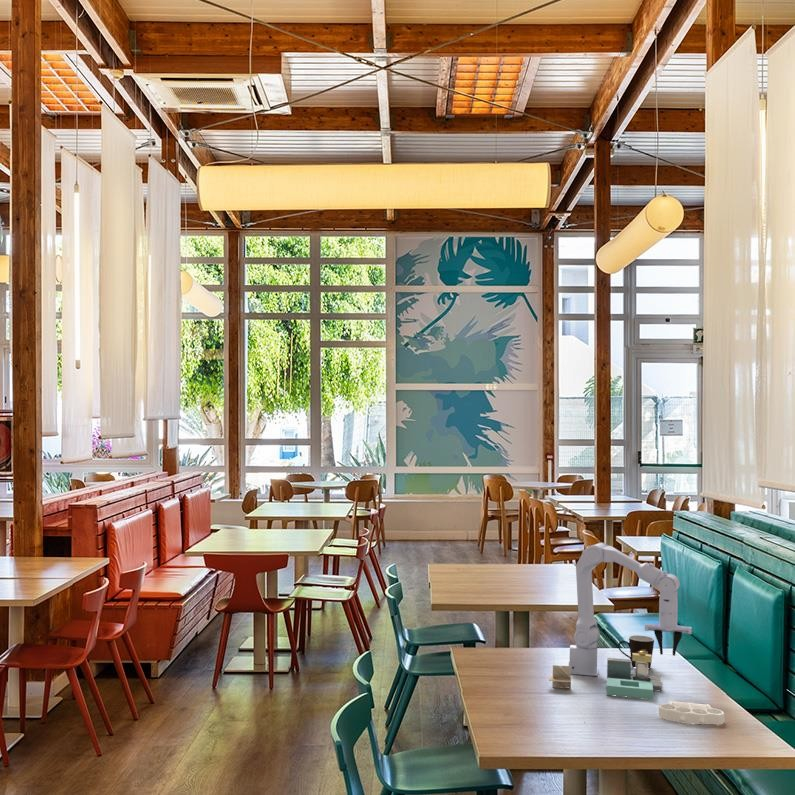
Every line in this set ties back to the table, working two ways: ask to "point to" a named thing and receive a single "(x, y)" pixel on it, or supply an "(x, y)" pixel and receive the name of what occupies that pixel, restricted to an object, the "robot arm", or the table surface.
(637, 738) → the table surface
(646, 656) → the yellow small block
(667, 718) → the white brass knuckles
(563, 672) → the architectural model
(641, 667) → the white upright block
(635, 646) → the coffee mug
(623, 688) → the holder
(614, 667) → the socket block
